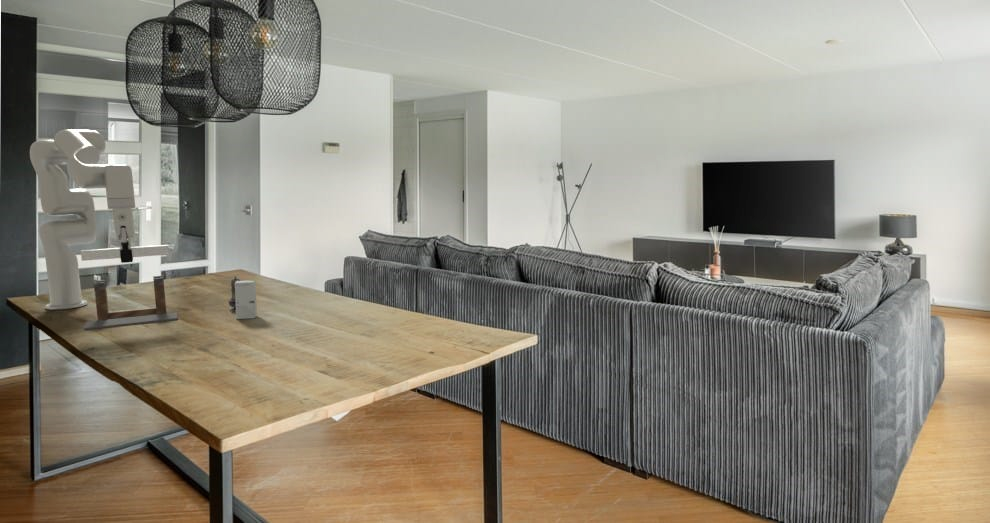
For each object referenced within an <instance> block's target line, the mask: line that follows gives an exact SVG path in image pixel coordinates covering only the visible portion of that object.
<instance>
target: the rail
mask: <svg viewBox="0 0 990 523" xmlns="http://www.w3.org/2000/svg"><path fill="white" fill-rule="evenodd" d="M130 248H131V249H132V257H133V258H139V257H153V256H155V257H157V256H170V249H169V248H170V247H169V244H159V245H156V244H155V245H145V246H144V245H143V246H131V247H130ZM120 250H121V249H120V247H113V248H97V249H81V250H80V257H81V261H82V262H83V261H97V260H111V259H112V260H114V259H121V256H120Z"/></svg>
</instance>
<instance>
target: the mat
mask: <svg viewBox="0 0 990 523" xmlns="http://www.w3.org/2000/svg"><path fill="white" fill-rule="evenodd" d="M178 319H179V317H178V312H166V313H165V314H151V315H141V316H132V317H122V318H112V319H108V320H98V319H97V320H91V321H90V320H89V321H85V323H84V325H83V328H82V330H83V331H86V330H87V331H88V330H97V329H107V328H113V327H126V326H133V325H141V324H142V325H143V324H151V323H152V324H153V323H161V322H171V321H178Z"/></svg>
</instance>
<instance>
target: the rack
mask: <svg viewBox="0 0 990 523" xmlns="http://www.w3.org/2000/svg"><path fill="white" fill-rule="evenodd" d="M93 289H94V296H95V297H94V298H95V306H96V316H97V321H98V320H108V319H117V318H127V317H137V316H146V315H156V314H165V313H167V305H166V294H165V293H166V292H165V291H166V290H165V279H164V275H154V276H153V289H154V300H155V301H154V302H155V306H154V307H144V308H136V309H135V308H133V309H125V310H124V309H123V310H122V309H121V310H114V311H109V301H108V292H107V291H108V290H107V280H106V279H103V280H95V281H94V283H93Z"/></svg>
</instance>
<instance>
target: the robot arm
mask: <svg viewBox="0 0 990 523" xmlns="http://www.w3.org/2000/svg"><path fill="white" fill-rule="evenodd" d="M106 144H107V143H106V140H105V138H104V137H103V135H102V134H101V132H98V131H97V130H90V129H72V128H71V129H69V128H68V129H66V128H65V129H63V130H62V129H61V130H60V131H58V132H56V134H55V135H54V138H53V139H41V140H36V141H34V142H33V143H32V144H31V145H30V149H29V159H30V162H31V164H32V167H33V168H34V172H36V173H35V174H36V176H37V180H38V181H37V182H38V191H39V198H40V205H41V209H42V212H43V214H44V215H46V216H51V217H63V216H77V218H71V219H70V218H68V219H67V218H65V219H54V220H53V219H51V220H47V221H45V222H43V223H41V225H40V226H39V228H38V235H39V238H40V241H41V243H42V244H41V245H42V248H43V253H44V258H45V267H46V268H45V269H46V275H47V283H48V284H47V285H48V294H49V297H48V298H49V302H50V303H46V304H45V306H44V307H45V309H46V310H53V311H54V310H58V311H59V310H70V309H75V308H81V307H84V306H86V305H88V301H87V300H86V299H85V300H84V299H83V298H82V288H81V287H82V286H81V281H80V280H81V279H80V270H79V269H80V268H79V261H78V257H77V255H76V253H75V252H74V251H72V249H71V248H70V247H71V246H80V245H88V244H89V245H90V244H93V243H94V242H95V241H96V239H97V236H98V231H97V230H98V229H97V220H96V219H97V218H96V210H95V209H96V208H95V202H94V198H93V196H92V194H91V193H90V191H88V190H86V189H105V193H106V202H107V210H112V218H113V226H114V231H115V236H116V240H118V241H119V246H120V247H119V248H120V249H121V250H120V256H121V258H120V262H121V263H122V264H124V263H133V262H134V261H133V260H134V257H132V249H131V248H130V247H132V244H131V242H132V241H131V240H135V239H136V234H135V222H134V214H133V209H136V201H135V198H136V197H135V189H134V179H133V171H132V170H133V169H132V167H131V166H130V165H128V164H98V163H99V161H100V157H101V155H103V153H104V152H105V151H106V147H107V146H106ZM59 165H66V169H67V170H66V171H67V174H68V176H69V178H70V179H71V180H72V181H73V182H74V184H76V185H77V186H78V187H80V188H69V184H68V176H67V174H66V173H65V171H63V169H62V168H61V167H60V166H59ZM82 188H83V189H82Z"/></svg>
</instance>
